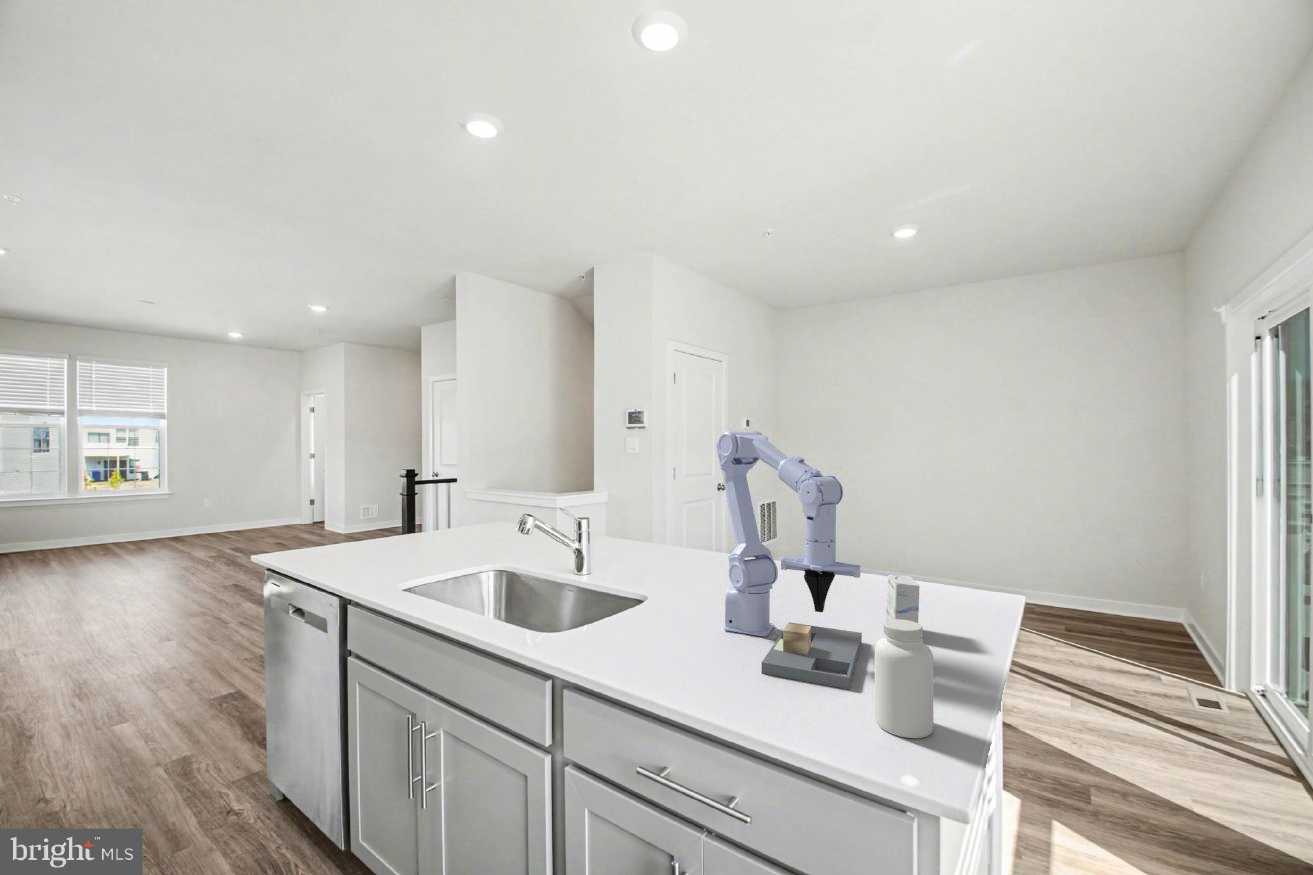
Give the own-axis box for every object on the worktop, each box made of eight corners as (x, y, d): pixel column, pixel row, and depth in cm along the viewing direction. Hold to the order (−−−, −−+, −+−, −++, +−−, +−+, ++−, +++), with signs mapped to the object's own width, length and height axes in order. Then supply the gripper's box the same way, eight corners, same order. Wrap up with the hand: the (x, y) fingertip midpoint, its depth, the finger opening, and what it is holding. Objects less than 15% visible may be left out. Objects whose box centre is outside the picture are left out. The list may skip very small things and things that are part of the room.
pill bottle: (864, 713, 86) (865, 616, 86) (914, 711, 87) (915, 615, 87) (890, 741, 78) (891, 634, 78) (945, 739, 79) (945, 633, 79)
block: (783, 651, 106) (783, 630, 106) (787, 643, 110) (787, 622, 110) (807, 655, 104) (807, 633, 104) (810, 646, 108) (810, 626, 108)
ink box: (885, 625, 127) (885, 573, 127) (910, 627, 126) (910, 574, 126) (893, 638, 118) (894, 583, 118) (919, 640, 117) (920, 584, 117)
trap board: (761, 673, 101) (761, 662, 101) (788, 631, 123) (788, 622, 123) (849, 689, 94) (849, 677, 94) (861, 642, 116) (861, 632, 116)
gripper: (777, 539, 107) (776, 611, 107) (858, 546, 100) (857, 622, 100) (785, 533, 113) (785, 601, 113) (861, 540, 107) (861, 611, 107)
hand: (819, 610), depth 107 cm, fingers closed
